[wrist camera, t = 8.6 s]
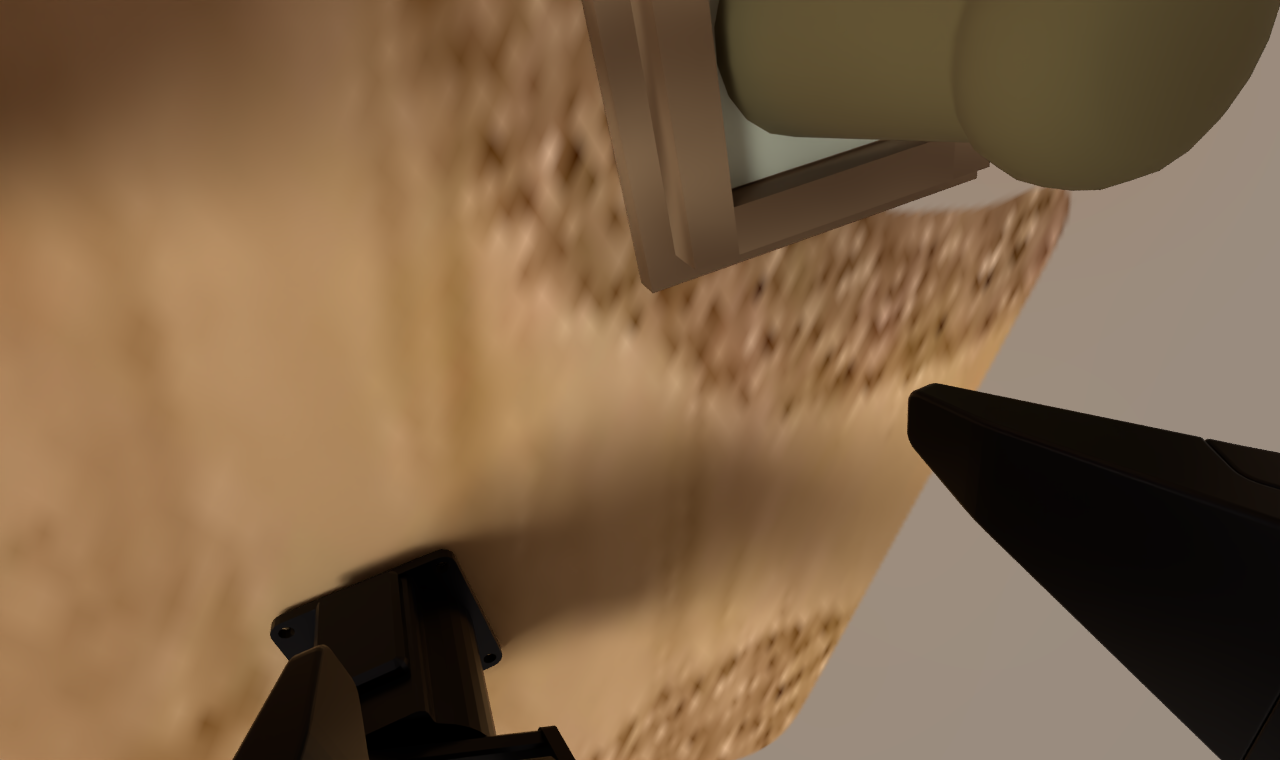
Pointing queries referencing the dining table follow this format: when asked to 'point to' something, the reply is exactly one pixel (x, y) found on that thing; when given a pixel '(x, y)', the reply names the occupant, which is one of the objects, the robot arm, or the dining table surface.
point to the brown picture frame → (731, 151)
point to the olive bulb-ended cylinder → (998, 76)
